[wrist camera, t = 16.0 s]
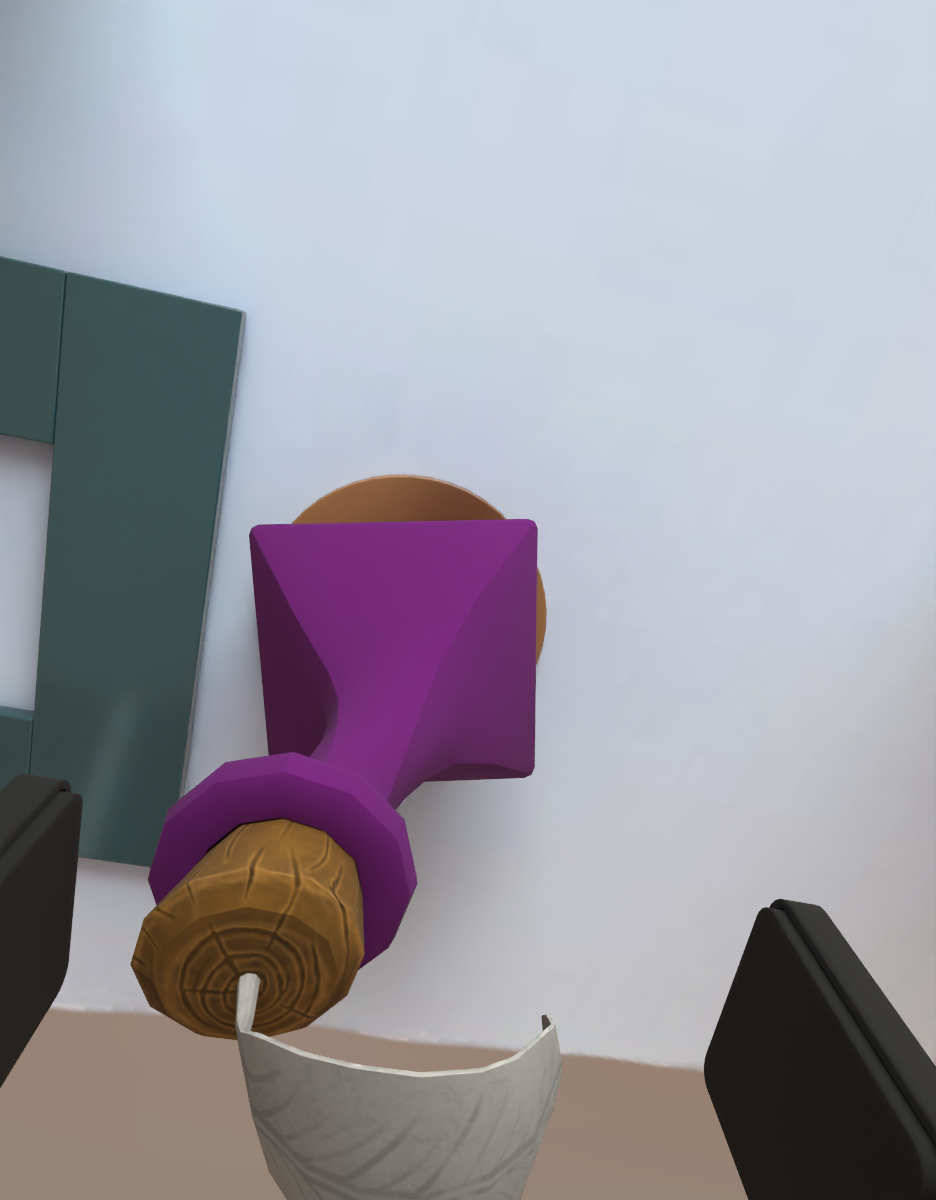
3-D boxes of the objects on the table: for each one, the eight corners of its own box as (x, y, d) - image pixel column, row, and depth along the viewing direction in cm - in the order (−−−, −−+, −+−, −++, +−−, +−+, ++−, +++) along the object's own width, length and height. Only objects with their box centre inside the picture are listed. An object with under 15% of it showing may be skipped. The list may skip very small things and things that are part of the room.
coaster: (574, 506, 24) (577, 508, 24) (510, 766, 27) (511, 772, 26) (281, 446, 23) (279, 447, 23) (241, 721, 26) (238, 726, 25)
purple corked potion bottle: (289, 735, 25) (8, 1505, 8) (271, 505, 23) (-160, 875, 6) (520, 728, 26) (722, 1444, 8) (522, 500, 24) (793, 834, 6)
